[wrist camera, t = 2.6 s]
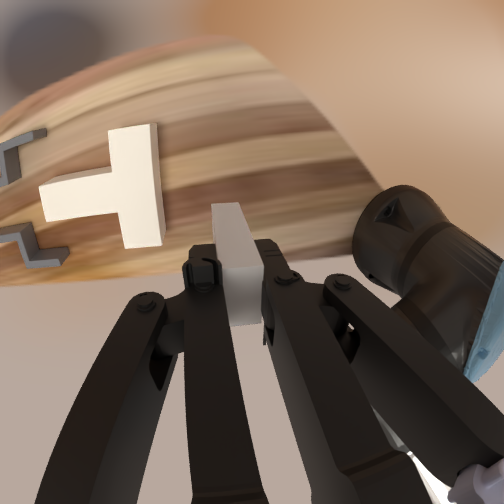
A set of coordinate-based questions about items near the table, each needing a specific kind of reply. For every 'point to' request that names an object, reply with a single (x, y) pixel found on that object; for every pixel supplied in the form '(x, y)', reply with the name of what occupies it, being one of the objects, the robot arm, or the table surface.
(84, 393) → the robot arm
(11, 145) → the t bay
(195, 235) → the table surface
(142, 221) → the t block
